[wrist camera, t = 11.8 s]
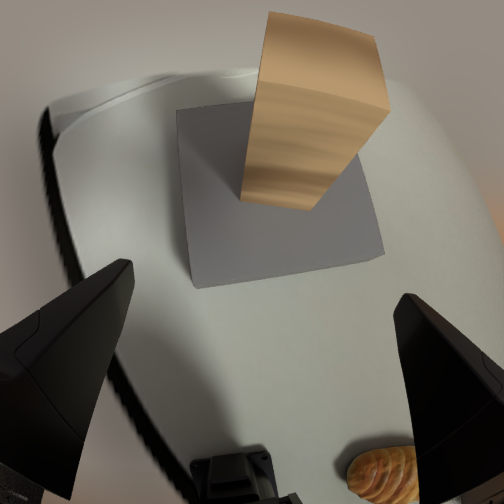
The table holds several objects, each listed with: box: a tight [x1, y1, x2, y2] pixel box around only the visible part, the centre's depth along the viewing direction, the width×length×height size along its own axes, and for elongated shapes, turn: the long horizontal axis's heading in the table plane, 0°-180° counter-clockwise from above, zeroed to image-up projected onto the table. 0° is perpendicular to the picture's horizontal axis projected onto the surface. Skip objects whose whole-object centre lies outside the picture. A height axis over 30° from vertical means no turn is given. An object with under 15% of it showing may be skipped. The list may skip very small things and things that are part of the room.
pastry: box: [347, 445, 419, 504], centre depth 19 cm, size 9×7×4 cm
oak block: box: [240, 12, 391, 211], centre depth 16 cm, size 5×5×12 cm
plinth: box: [176, 102, 385, 289], centre depth 23 cm, size 14×14×3 cm
